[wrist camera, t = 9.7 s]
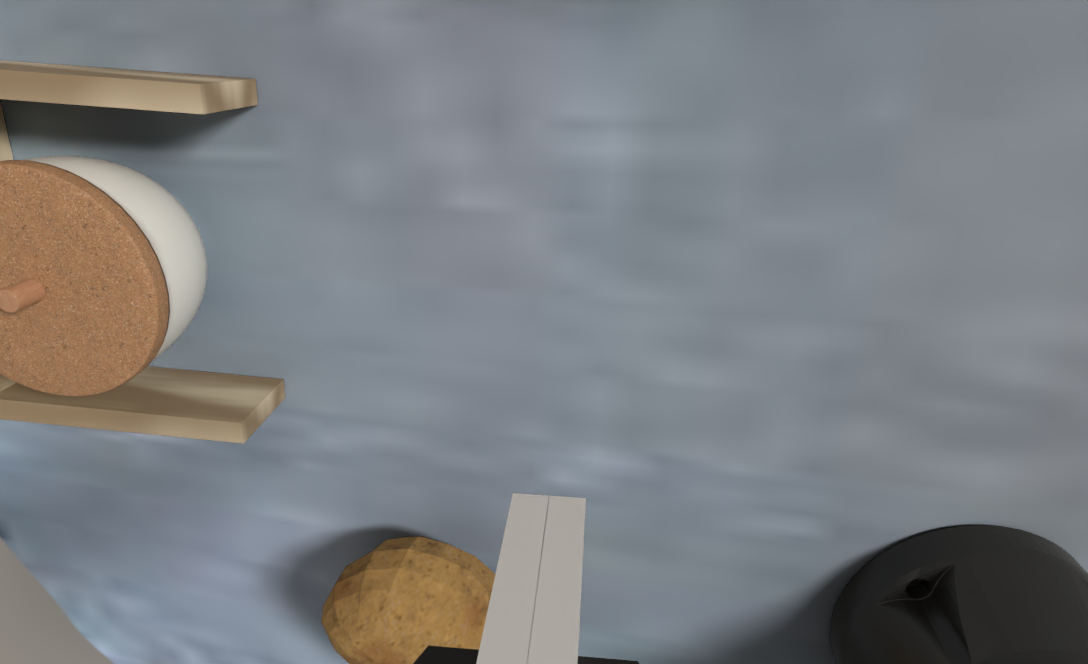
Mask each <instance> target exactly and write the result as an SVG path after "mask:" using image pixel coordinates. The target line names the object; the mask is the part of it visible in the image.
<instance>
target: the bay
mask: <svg viewBox="0 0 1088 664" xmlns="http://www.w3.org/2000/svg"><path fill="white" fill-rule="evenodd" d="M0 99H6V100H19V101H33V102H46V103H59V104H72V105H86V106H99V107H112V108H126V109H139V110H152V111H165V112H179V113H192V114H208V113H214V112H220V111H226V110H231V109H237V108H243V107H249V106H255V105H258V99H257V88H256V79H251V78H237V77H223V76H209V75H195V74H181V73H168V72H154V71H140V70H126V69H112V68H98V67H85V66H71V65H57V64H43V63H29V62H15V61H2V60H0ZM4 160H14V159H13V155H12V151H11V146H10V142H9V138H8V133H7V129H6V125H5V120H4V116H3V112H2V107H1V103H0V161H4ZM284 399H285V389H284V379H276V378H266V377H255V376H245V375H234V374H224V373H213V372H203V371H192V370H182V369H171V368H161V367H150V366H147V367H146V368H145V369H144V370H143V371H141V372H140V373H139V374H137V375H136V376H135V377H134V378H132V379H131V380H130V381H128V382H127V383H125V384H123V385H121V386H119V387H117V388H115V389H113V390H111V391H108V392H104V393H101V394H97V395H89V396H62V395H56V394H50V393H44V392H41V391H38V390H35V389H32V388H29V387H26V386H23V385H21V384H19V383H17V382H14V381H12V380H10V379H8V378H6V377H5V376H3V375H1V374H0V419H5V420H15V421H25V422H35V423H45V424H55V425H65V426H75V427H85V428H94V429H104V430H114V431H124V432H134V433H144V434H154V435H164V436H174V437H184V438H194V439H204V440H214V441H224V442H234V443H245V442H246V440H247V439H248V438H249V437H250V436H251V435H252V434H253V433H254V432H255V431H256V429H257V428H258V427H259V426H260V425H261V424H262V423H263V422H264V421H265V420H266V418H267V417H268V416H269V415H270V414H271V413H272V412H273V411H274V410H275V409H276V407H277V406H278V405H279V404H280V403H281V402H282V401H283V400H284Z"/></svg>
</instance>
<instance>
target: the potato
mask: <svg viewBox="0 0 1088 664" xmlns="http://www.w3.org/2000/svg"><path fill="white" fill-rule="evenodd" d="M494 579H495V574H494V573H493V572H492V571H491V570H490V569H489V568H488V567H487V566H485V565H484V564H483V563H482V562H481V561H480V560H479V559H477V558H476V557H475V556H473V555H471V554H469V553H467V552H464V551H462V550H460V549H458V548H456V547H453V546H451V545H449V544H446V543H443V542H439V541H436V540H433V539H429V538H426V537H401V538H394V539H388V540H386V541H384V542H383V543H382V544H380V545H379V546H378V547H376V548H375V549H374V550H373V551H371V552H370V553H368V554H366V555H365V556H363V557H361V558H359V559H358V560H356V561H354V562H353V563H351V564H349V565H347V566H346V567H345V569H344V571H343V572H342V574H341V576H340V577H339V579H338V581H337V582H336V584H335V586H334V588H333V589H332V591H331V593H330V595H329V597H328V598H327V600H326V602H325V604H324V606H323V613H322V624H323V626H324V628H325V631H326V633H327V635H328V637H329V639H330V642H331V643H332V645H333V647H334V649H335V650H336V651H337V652H338V653H339V654H340V655H341V656H342V657H343V658H344V659H345V660H346V661H347V662H348V663H349V664H413V663H414V662H415V661H416V660H417V658H418V657H419V656H420V655H421V654H422V652H423V651H424V650H425V649H426V648H427V646H428V645H430V646H441V647H453V648H465V649H477V650H479V648H480V644H481V639H482V634H483V630H484V625H485V620H486V616H487V611H488V607H489V602H490V597H491V593H492V588H493V583H494Z"/></svg>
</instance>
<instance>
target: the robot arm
mask: <svg viewBox="0 0 1088 664" xmlns="http://www.w3.org/2000/svg"><path fill="white" fill-rule="evenodd" d="M585 503H586V498H574V497H559V496H544V495H530V494H515V493H513V495H512V500H511V505H510V509H509V514H508V519H507V523H506V528H505V532H504V537H503V542H502V546H501V551H500V556H499V560H498V565H497V570H496V574H495V579H494V583H493V588H492V593H491V597H490V602H489V607H488V611H487V616H486V620H485V625H484V630H483V634H482V639H481V644H480V648H479V650H477V649H465V648H453V647H441V646H430V645H428V646H427V648H426V649H425V650H424V651H423V652H422V654H421V655H420V656H419V657H418V658H417V660H416V661H415V662H414V663H413V664H639V663H638V661H628V660H617V659H605V658H593V657H581V656H578V643H579V623H580V603H581V583H582V563H583V543H584V523H585ZM830 641H831V647H832V651H833V654H834V657H835V660H836V662H837V664H1088V573H1087V572H1086V571H1085V570H1084V569H1083V568H1082V567H1081V566H1080V565H1079V563H1078V562H1077V561H1076V560H1075V559H1074V558H1073V557H1072V556H1071V555H1070V554H1069V553H1067V552H1066V551H1065V550H1063V549H1062V548H1061V547H1059V546H1058V545H1056V544H1054V543H1053V542H1051V541H1049V540H1047V539H1045V538H1042V537H1040V536H1038V535H1035V534H1032V533H1029V532H1026V531H1022V530H1018V529H1013V528H1008V527H1001V526H989V525H972V526H960V527H952V528H946V529H941V530H936V531H933V532H929V533H925V534H922V535H919V536H916V537H914V538H911V539H909V540H906V541H904V542H902V543H900V544H898V545H896V546H894V547H892V548H890V549H888V550H887V551H885V552H883V553H882V554H880V555H879V556H877V557H876V558H874V559H873V560H872V561H870V562H869V563H868V564H867V565H866V566H864V567H863V568H862V569H861V570H860V571H859V572H858V573H857V574H856V575H855V576H854V577H853V578H852V580H851V581H850V582H849V583H848V585H847V586H846V587H845V589H844V590H843V592H842V594H841V595H840V597H839V599H838V601H837V603H836V606H835V608H834V611H833V615H832V619H831V625H830Z"/></svg>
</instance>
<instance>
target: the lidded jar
mask: <svg viewBox="0 0 1088 664" xmlns="http://www.w3.org/2000/svg"><path fill="white" fill-rule="evenodd" d="M206 283H207V258H206V253H205V247H204V244H203V241H202V238H201V235H200V233H199V231H198V229H197V227H196V225H195V223H194V221H193V219H192V218H191V216H190V215H189V213H188V212H187V211H186V209H185V208H184V207H183V206H182V205H181V203H180V202H179V201H178V200H177V199H176V198H175V197H174V196H173V195H172V194H171V193H169V192H168V191H167V190H166V189H165V188H164V187H162V186H161V185H160V184H158V183H157V182H155V181H154V180H152V179H151V178H149V177H148V176H146V175H144V174H142V173H140V172H138V171H136V170H134V169H131V168H128V167H125V166H123V165H120V164H117V163H114V162H111V161H107V160H101V159H96V158H89V157H80V156H45V157H37V158H30V159H24V160H4V161H0V374H1V375H3V376H5V377H6V378H8V379H10V380H12V381H14V382H17V383H19V384H21V385H23V386H26V387H29V388H32V389H35V390H38V391H41V392H44V393H50V394H56V395H62V396H89V395H97V394H101V393H104V392H108V391H111V390H113V389H115V388H117V387H119V386H121V385H123V384H125V383H127V382H128V381H130V380H131V379H132V378H134V377H135V376H136V375H137V374H139V373H140V372H141V371H143V370H144V369H145V368H146V367H147V366H148V365H149V364H150V363H151V362H152V361H153V360H154V359H156V358H157V357H158V356H159V355H161V354H162V353H163V352H164V351H166V350H167V349H168V348H169V347H170V346H171V345H172V344H173V343H174V342H175V341H176V340H177V339H178V338H179V337H180V336H181V335H182V333H183V332H184V331H185V330H186V329H187V327H188V326H189V325H190V323H191V322H192V320H193V319H194V317H195V315H196V313H197V311H198V310H199V308H200V305H201V302H202V299H203V296H204V293H205V289H206Z"/></svg>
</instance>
